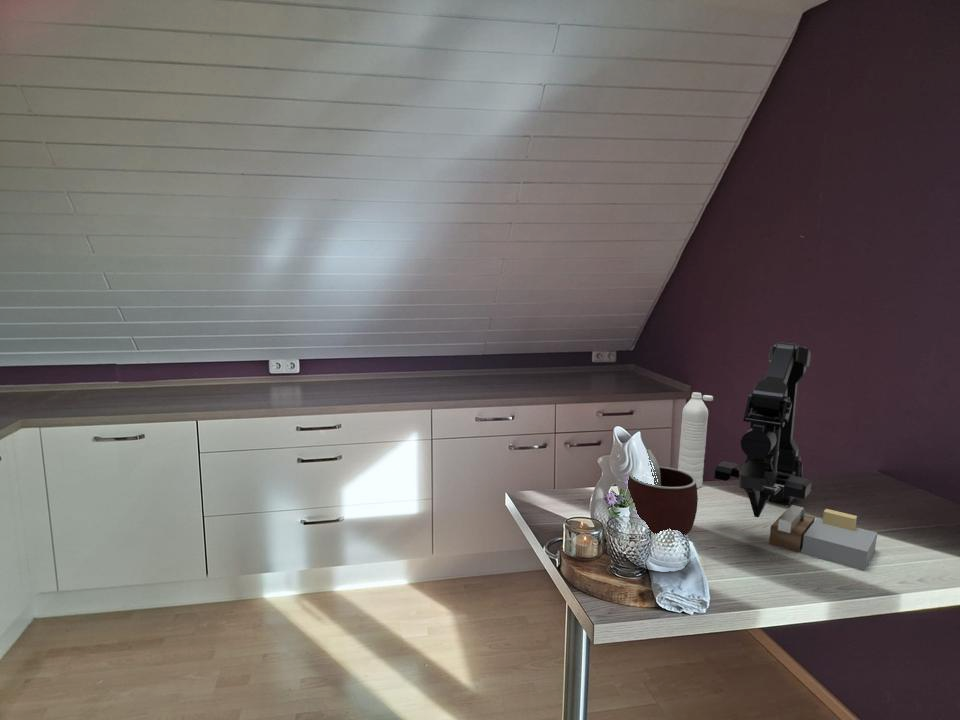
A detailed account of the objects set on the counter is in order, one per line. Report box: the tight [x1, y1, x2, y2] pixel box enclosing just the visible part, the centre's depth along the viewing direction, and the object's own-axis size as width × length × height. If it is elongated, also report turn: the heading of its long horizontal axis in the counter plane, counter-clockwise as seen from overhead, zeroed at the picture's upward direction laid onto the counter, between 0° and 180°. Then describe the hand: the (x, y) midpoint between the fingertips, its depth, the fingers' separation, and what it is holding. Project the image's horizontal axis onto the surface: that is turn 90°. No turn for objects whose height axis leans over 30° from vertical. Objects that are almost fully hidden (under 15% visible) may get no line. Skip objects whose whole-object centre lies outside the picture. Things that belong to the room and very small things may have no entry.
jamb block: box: [768, 509, 816, 553], centre depth 144 cm, size 12×6×4 cm, turn 141°
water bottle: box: [677, 391, 714, 489], centre depth 173 cm, size 9×6×25 cm
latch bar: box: [778, 504, 806, 533], centre depth 141 cm, size 11×3×2 cm, turn 141°
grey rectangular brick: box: [801, 508, 878, 572], centre depth 138 cm, size 12×12×7 cm
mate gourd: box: [627, 449, 699, 536], centre depth 132 cm, size 16×14×20 cm
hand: (756, 516), depth 143 cm, fingers closed
